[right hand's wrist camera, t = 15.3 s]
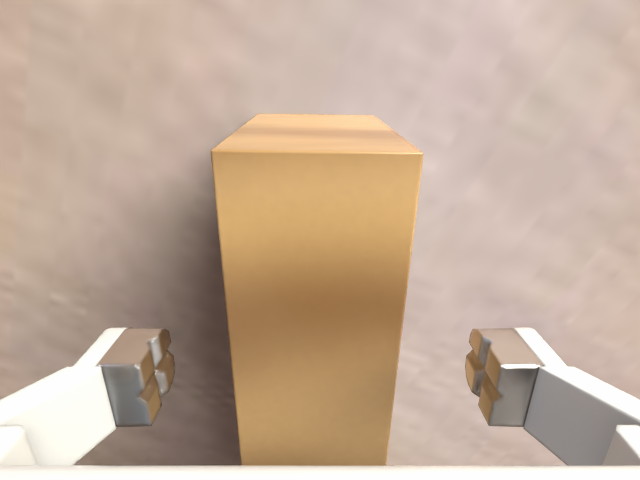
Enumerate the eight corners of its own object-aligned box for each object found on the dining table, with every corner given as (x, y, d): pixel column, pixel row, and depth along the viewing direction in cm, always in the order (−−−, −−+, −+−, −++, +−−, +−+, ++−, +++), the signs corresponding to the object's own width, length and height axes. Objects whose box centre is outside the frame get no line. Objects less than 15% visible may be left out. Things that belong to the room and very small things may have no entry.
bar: (257, 113, 18) (209, 149, 10) (375, 115, 18) (424, 152, 10) (275, 503, 29) (260, 670, 21) (348, 502, 29) (361, 669, 21)
